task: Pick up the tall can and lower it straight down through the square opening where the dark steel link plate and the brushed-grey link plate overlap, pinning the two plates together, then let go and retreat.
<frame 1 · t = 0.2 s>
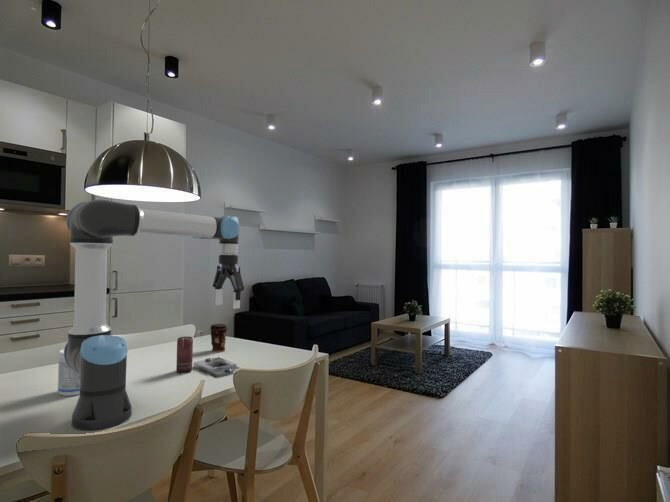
hand: (227, 306, 160), 27 cm above the table, fingers open, 13 cm apart
coffee cup: (218, 351, 197), on the table
can: (184, 372, 162), on the table
link plate upper: (218, 369, 166), on the table
link plate lower: (218, 369, 166), on the table
supplement tub: (74, 392, 136), on the table
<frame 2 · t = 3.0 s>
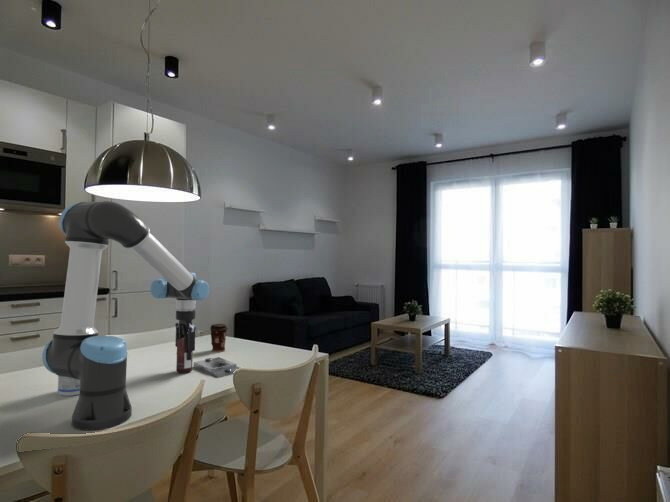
hand: (184, 366, 162), 2 cm above the table, fingers open, 5 cm apart
nothing on the table moved.
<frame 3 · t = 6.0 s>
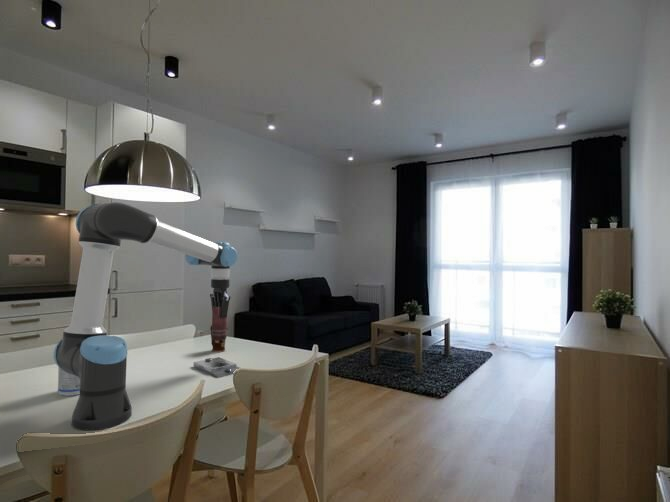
hand: (219, 334, 166), 15 cm above the table, fingers closed
can: (219, 339, 166), point 13 cm above the table, touching hand
everything else where it was.
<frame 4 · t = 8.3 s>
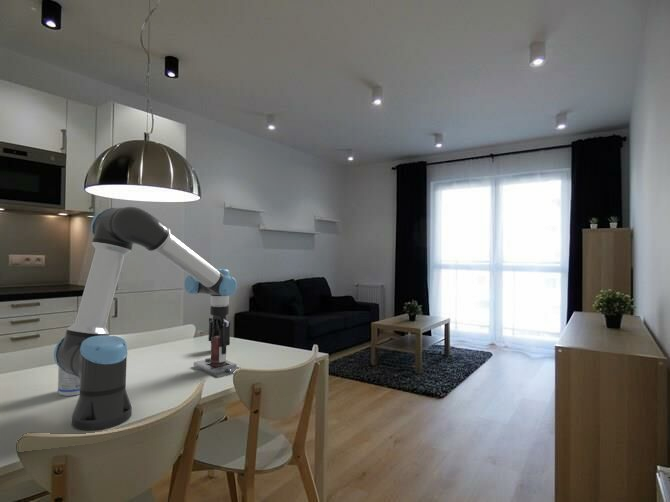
hand: (218, 359, 166), 4 cm above the table, fingers open, 6 cm apart
can: (218, 369, 166), resting in link plate lower
everything else where it was.
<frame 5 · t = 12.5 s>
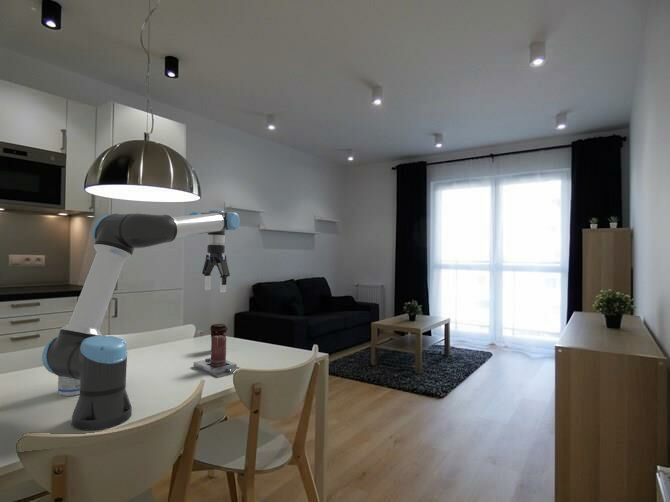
hand: (215, 291, 179), 32 cm above the table, fingers open, 13 cm apart
nothing on the table moved.
at the end: can 0.1 cm from the link plate lower (horizontally); can resting in link plate lower; can tilted 0° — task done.
